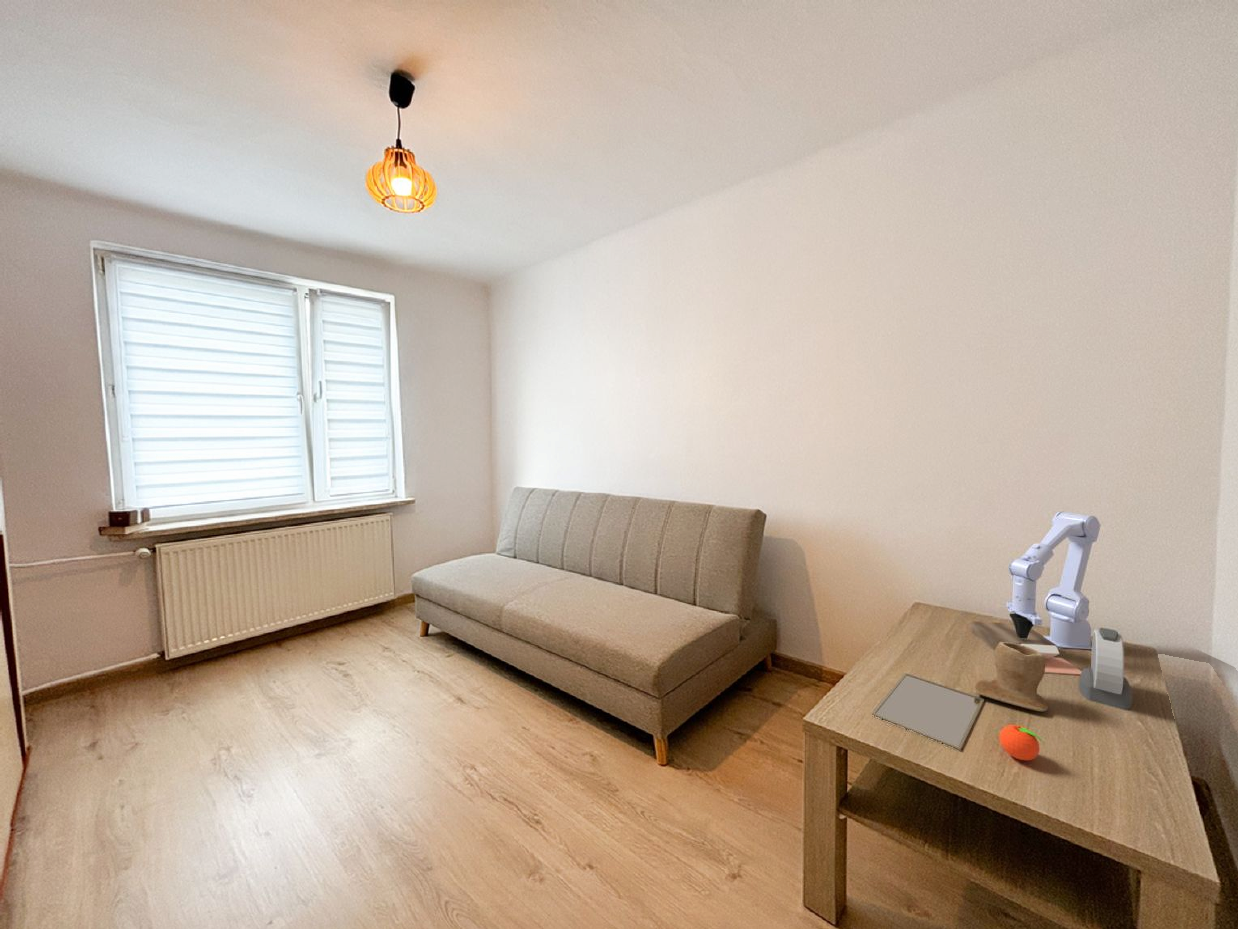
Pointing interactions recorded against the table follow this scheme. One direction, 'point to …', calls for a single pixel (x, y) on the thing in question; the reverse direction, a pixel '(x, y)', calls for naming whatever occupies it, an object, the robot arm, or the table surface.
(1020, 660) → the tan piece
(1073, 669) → the mat
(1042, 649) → the tile
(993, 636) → the plate
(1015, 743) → the clementine
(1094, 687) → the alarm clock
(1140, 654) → the table surface
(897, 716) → the picture frame
